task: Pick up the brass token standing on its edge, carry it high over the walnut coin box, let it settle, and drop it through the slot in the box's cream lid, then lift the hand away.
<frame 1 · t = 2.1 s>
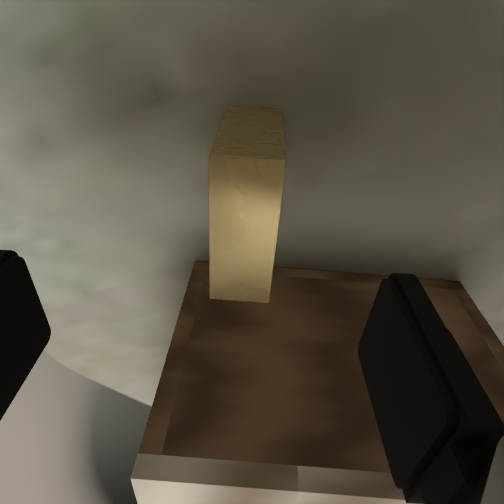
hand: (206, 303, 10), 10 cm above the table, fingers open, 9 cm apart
brass token: (251, 169, 18), on the table
coin box: (309, 348, 25), on the table
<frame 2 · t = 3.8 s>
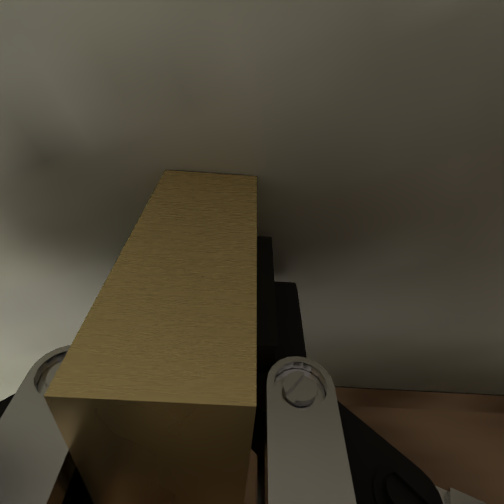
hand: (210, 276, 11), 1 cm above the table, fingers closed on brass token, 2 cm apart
brass token: (211, 264, 11), on the table, touching gripper
coin box: (308, 466, 19), on the table
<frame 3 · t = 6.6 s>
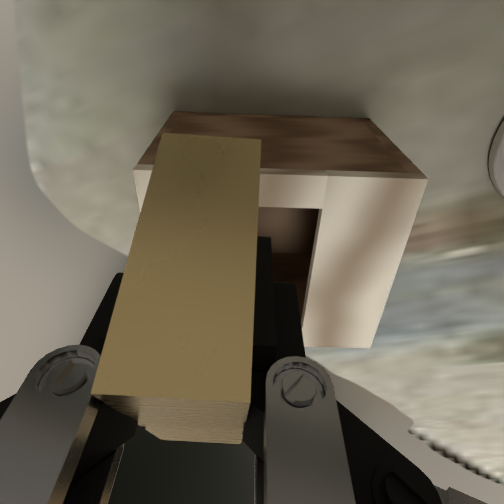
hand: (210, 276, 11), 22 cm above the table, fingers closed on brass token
brass token: (211, 344, 12), point 22 cm above the table, tilted 69°, touching gripper
coin box: (266, 193, 33), on the table
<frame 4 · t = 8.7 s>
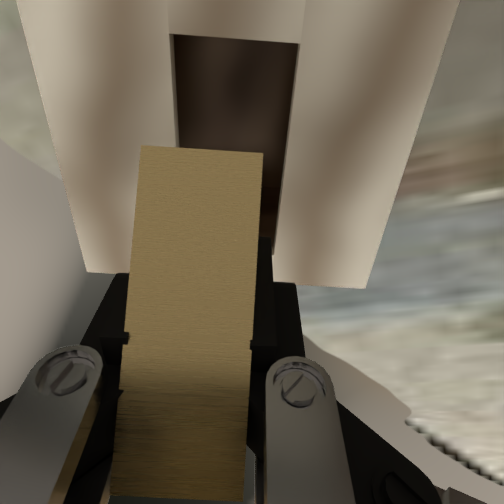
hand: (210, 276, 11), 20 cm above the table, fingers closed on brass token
brass token: (197, 430, 9), point 23 cm above the table, tilted 130°, touching gripper
coin box: (241, 102, 26), on the table
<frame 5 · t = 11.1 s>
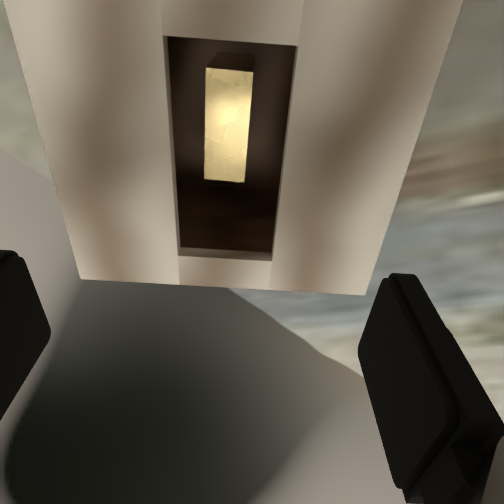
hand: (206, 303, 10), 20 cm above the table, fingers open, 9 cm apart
brass token: (226, 130, 20), point 7 cm above the table, tilted 180°, touching coin box
coin box: (238, 104, 26), on the table
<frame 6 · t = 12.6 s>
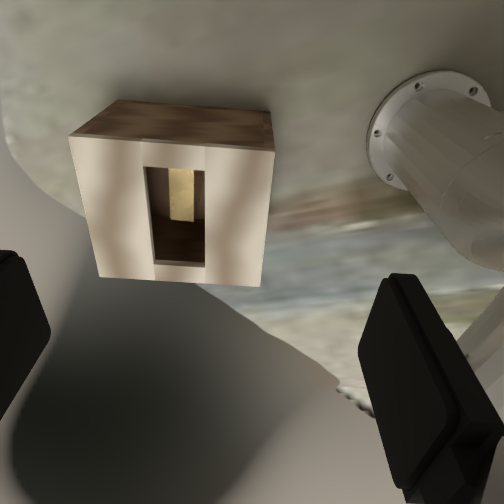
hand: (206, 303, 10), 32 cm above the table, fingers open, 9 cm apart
brass token: (181, 194, 35), point 7 cm above the table, tilted 180°, touching coin box
coin box: (195, 169, 41), on the table
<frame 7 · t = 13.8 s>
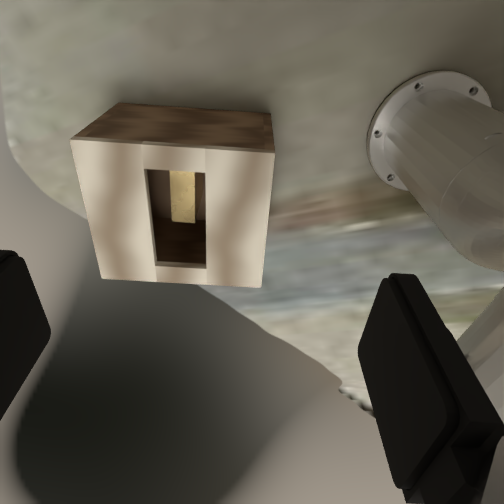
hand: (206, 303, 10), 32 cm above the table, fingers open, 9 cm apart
brass token: (182, 196, 36), point 7 cm above the table, tilted 180°, touching coin box
coin box: (196, 170, 42), on the table
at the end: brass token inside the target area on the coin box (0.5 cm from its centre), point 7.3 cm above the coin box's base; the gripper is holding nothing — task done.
